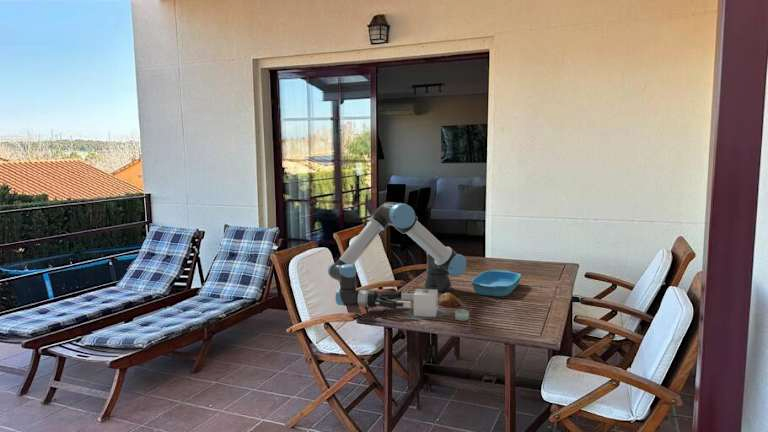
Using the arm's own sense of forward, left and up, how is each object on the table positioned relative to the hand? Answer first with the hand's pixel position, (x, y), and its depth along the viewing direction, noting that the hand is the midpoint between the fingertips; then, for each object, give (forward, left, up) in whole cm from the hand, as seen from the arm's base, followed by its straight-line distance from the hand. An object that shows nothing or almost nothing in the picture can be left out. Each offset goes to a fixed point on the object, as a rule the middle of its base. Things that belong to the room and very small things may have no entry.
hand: (412, 300), depth 237 cm
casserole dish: (-61, -19, -7) cm, 64 cm away
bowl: (-15, +18, -6) cm, 24 cm away
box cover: (-5, +3, -6) cm, 8 cm away
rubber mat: (-5, +3, -6) cm, 9 cm away
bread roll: (-22, -5, -7) cm, 24 cm away
